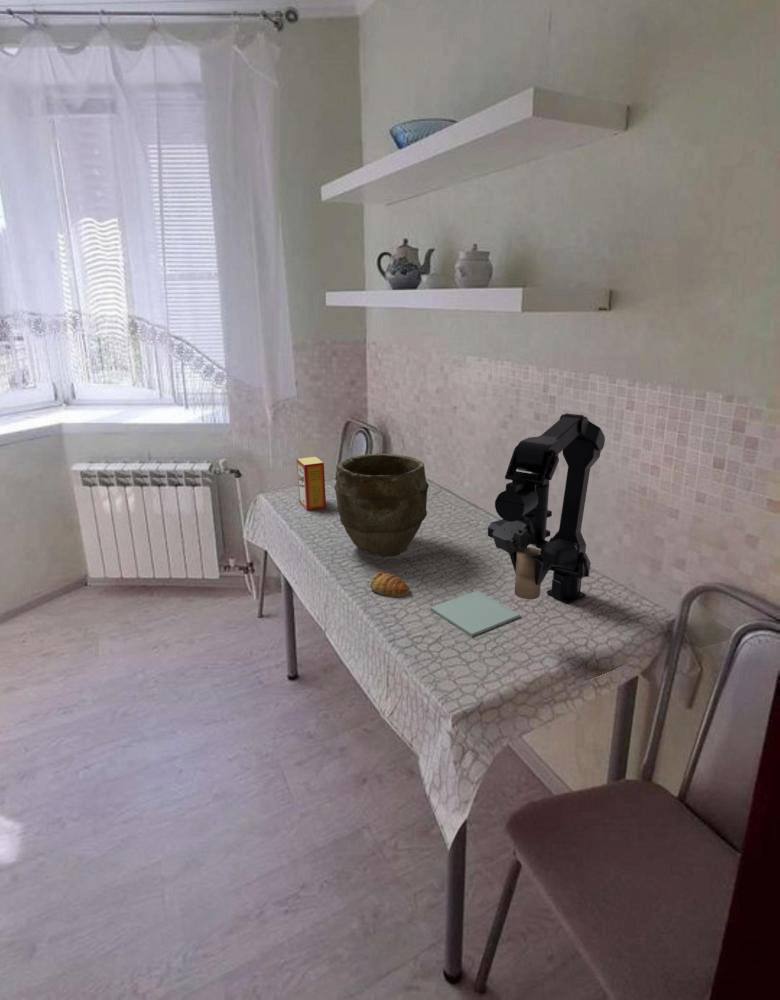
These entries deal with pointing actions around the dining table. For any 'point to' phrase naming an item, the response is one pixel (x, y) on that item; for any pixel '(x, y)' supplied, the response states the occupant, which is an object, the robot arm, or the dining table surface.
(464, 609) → the card
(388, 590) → the pastry
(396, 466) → the clay pot
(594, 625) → the dining table surface
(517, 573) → the brown rounded cylinder
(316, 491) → the baking soda box
